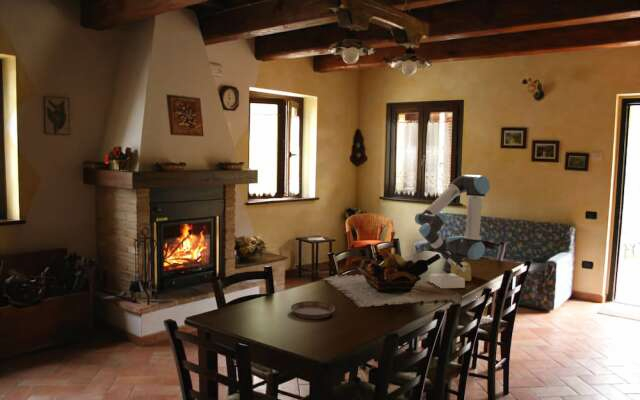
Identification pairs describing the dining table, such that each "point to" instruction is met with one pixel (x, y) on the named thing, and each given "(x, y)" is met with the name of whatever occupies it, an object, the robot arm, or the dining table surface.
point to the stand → (447, 280)
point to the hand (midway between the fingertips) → (459, 268)
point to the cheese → (459, 272)
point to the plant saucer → (312, 309)
